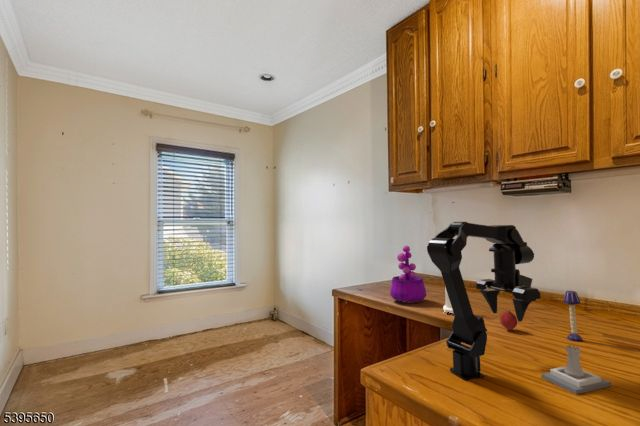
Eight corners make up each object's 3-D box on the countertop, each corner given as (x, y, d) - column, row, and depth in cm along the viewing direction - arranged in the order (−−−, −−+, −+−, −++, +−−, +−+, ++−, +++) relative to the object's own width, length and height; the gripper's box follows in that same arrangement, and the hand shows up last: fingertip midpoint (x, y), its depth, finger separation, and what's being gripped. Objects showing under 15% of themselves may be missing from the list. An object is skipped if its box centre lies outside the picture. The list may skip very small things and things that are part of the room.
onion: (503, 326, 130) (502, 306, 130) (519, 330, 125) (518, 309, 126) (498, 330, 125) (497, 309, 126) (515, 333, 121) (514, 312, 122)
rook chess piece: (569, 381, 83) (567, 349, 84) (560, 373, 88) (559, 343, 88) (589, 382, 82) (587, 350, 83) (579, 374, 87) (578, 344, 87)
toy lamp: (562, 338, 116) (560, 290, 116) (570, 335, 118) (568, 289, 118) (577, 342, 112) (575, 293, 112) (585, 340, 113) (583, 291, 114)
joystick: (444, 308, 159) (442, 267, 160) (461, 309, 156) (459, 267, 156) (442, 314, 149) (440, 270, 150) (460, 315, 146) (458, 271, 146)
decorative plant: (408, 308, 161) (406, 247, 162) (383, 300, 177) (381, 245, 178) (434, 302, 171) (432, 245, 172) (408, 296, 187) (406, 243, 188)
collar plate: (575, 394, 79) (575, 385, 79) (541, 377, 88) (541, 369, 88) (611, 385, 83) (610, 377, 83) (574, 370, 91) (574, 362, 91)
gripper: (554, 267, 93) (556, 322, 93) (501, 261, 111) (503, 307, 111) (523, 270, 90) (526, 327, 90) (474, 263, 108) (476, 310, 108)
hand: (507, 317), depth 100 cm, fingers open, 9 cm apart
